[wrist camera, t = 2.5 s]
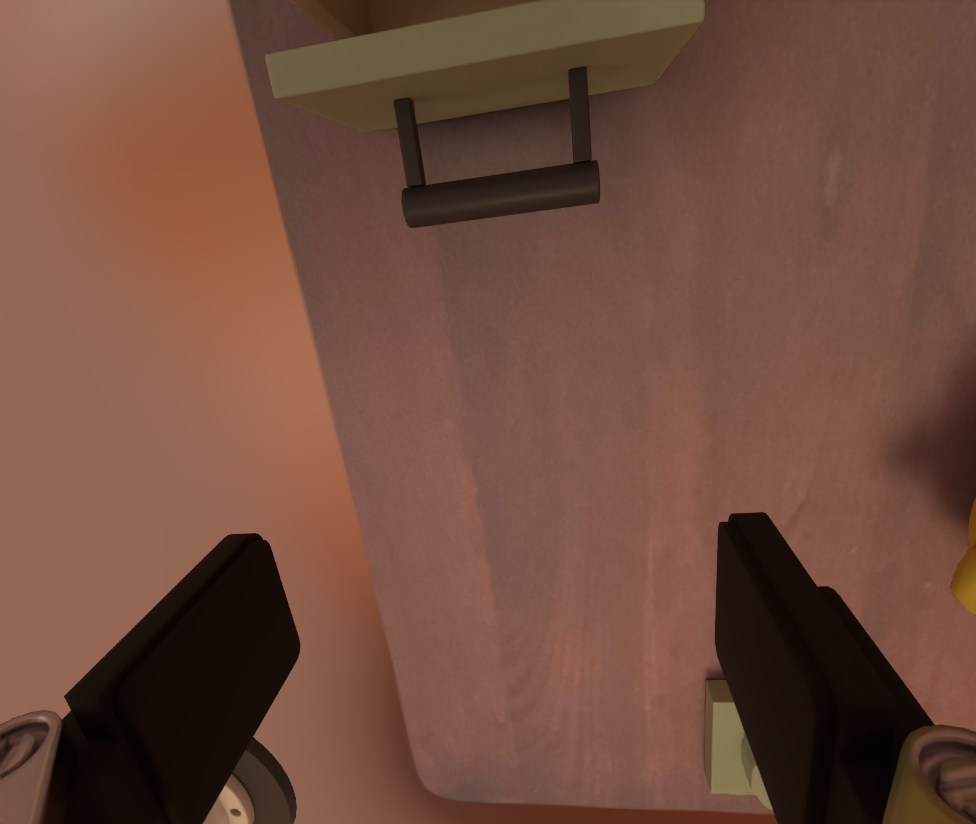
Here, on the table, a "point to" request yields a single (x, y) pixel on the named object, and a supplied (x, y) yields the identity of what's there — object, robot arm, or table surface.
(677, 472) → the table surface
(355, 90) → the cabinet drawer
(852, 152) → the table surface
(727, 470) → the table surface
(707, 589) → the table surface
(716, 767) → the control block
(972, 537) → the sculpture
